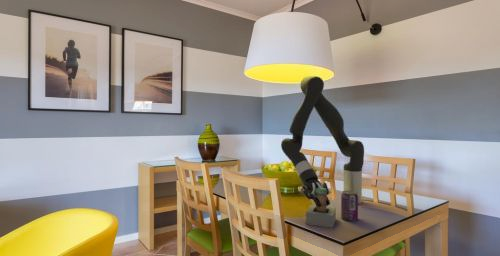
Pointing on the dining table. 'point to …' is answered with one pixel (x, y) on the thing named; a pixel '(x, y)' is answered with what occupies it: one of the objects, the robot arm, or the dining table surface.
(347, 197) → the beverage can
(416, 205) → the dining table surface
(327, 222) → the socket block
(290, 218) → the dining table surface
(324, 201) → the green capped wooden peg
